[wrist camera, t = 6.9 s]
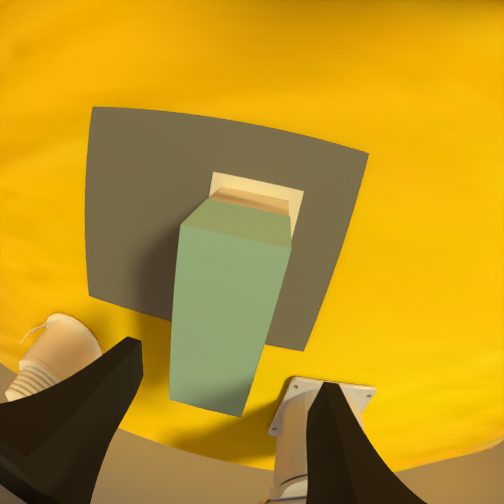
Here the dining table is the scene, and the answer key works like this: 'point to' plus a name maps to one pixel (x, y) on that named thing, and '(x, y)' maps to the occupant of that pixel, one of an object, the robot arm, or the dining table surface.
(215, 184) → the mat
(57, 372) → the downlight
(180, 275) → the lintel
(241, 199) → the pillar
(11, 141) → the dining table surface
